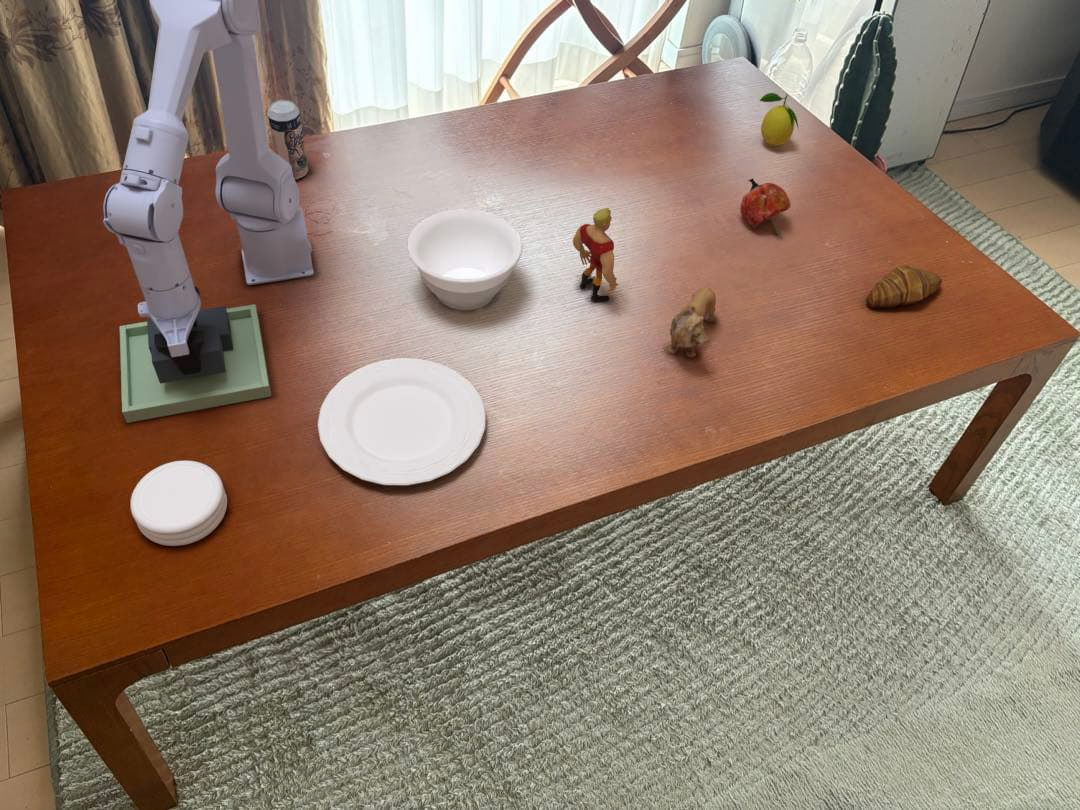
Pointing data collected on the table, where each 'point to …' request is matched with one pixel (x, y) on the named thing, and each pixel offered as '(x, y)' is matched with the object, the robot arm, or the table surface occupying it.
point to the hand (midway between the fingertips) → (190, 356)
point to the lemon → (777, 121)
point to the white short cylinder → (178, 503)
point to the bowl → (464, 255)
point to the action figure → (597, 253)
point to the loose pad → (209, 357)
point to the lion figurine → (692, 322)
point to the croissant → (903, 287)
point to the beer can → (288, 135)
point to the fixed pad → (206, 318)
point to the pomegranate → (763, 203)
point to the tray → (232, 386)
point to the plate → (401, 422)
